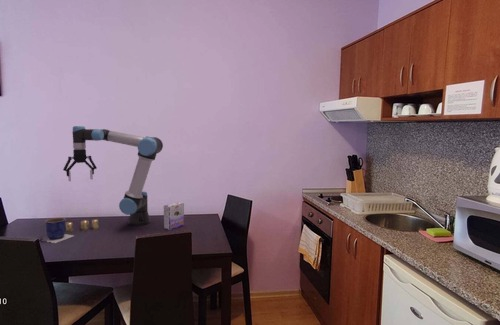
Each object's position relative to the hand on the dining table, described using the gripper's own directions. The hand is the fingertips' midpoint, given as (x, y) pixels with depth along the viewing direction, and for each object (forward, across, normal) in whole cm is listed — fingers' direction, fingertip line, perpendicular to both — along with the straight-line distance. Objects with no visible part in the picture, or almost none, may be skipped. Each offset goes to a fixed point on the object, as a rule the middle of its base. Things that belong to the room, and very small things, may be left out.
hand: (80, 180), depth 220 cm
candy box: (+33, -48, +40) cm, 71 cm away
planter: (+32, +19, +16) cm, 41 cm away
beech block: (+33, -1, +2) cm, 33 cm away
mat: (+33, +19, +16) cm, 41 cm away
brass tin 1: (+33, +10, +6) cm, 34 cm away
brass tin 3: (+33, -6, +10) cm, 34 cm away
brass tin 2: (+33, 0, +7) cm, 33 cm away
